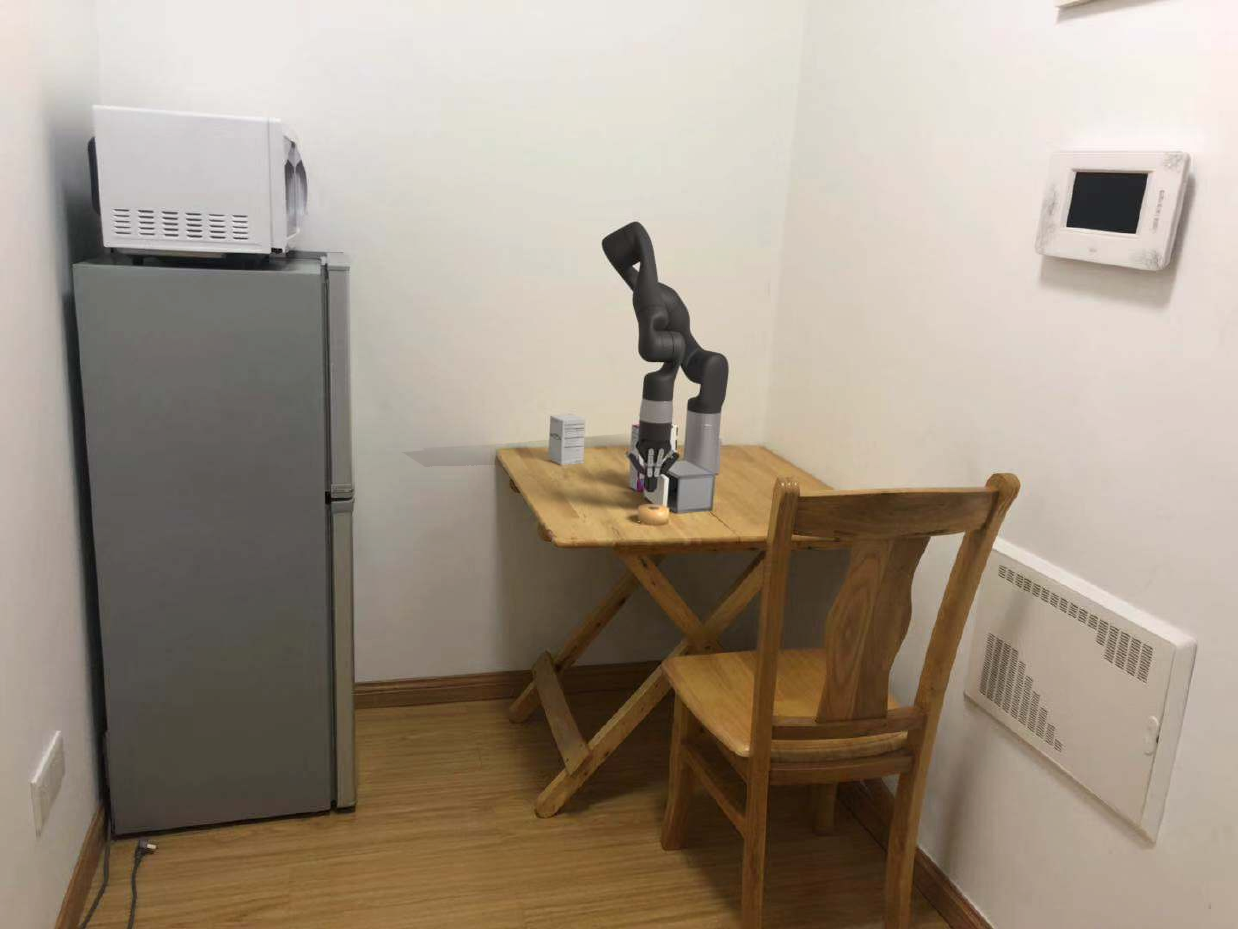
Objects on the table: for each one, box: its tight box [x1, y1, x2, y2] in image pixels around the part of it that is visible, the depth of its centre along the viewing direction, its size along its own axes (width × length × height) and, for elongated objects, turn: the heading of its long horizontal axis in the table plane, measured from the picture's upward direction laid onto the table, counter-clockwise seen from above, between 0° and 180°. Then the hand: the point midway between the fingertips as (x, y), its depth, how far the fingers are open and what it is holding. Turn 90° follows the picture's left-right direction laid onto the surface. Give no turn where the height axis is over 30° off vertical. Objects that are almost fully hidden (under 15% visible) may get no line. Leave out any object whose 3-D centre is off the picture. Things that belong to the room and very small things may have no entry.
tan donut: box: [637, 503, 670, 527], centre depth 226 cm, size 7×7×3 cm
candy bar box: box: [628, 423, 679, 492], centre depth 252 cm, size 11×5×16 cm, turn 118°
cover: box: [642, 474, 669, 507], centre depth 237 cm, size 15×1×8 cm, turn 17°
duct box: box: [662, 459, 717, 514], centre depth 240 cm, size 10×14×9 cm
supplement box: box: [547, 413, 586, 466], centre depth 273 cm, size 7×7×13 cm
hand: (650, 491), depth 232 cm, fingers closed
